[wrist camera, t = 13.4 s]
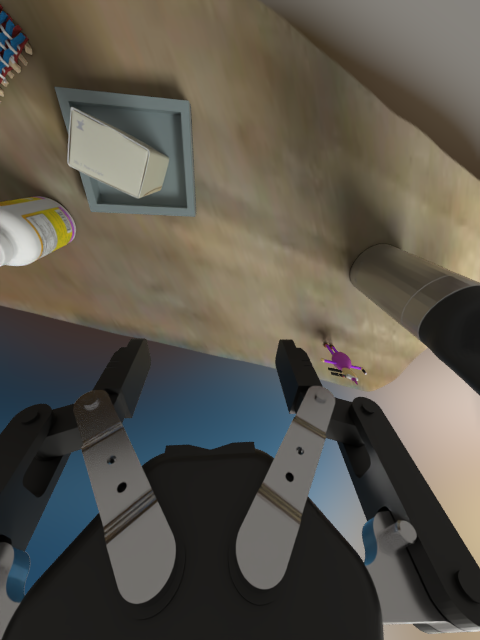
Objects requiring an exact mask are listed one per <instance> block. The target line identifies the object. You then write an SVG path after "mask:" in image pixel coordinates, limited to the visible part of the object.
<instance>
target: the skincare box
mask: <svg viewBox="0 0 480 640" xmlns="http://www.w3.org/2000/svg"><path fill="white" fill-rule="evenodd" d="M67 163H68V165H69V166H70V167H72V168H74V169H76V170H78V171H80V172H82V173H84V174H86V175H88V176H90V177H92V178H94V179H96V180H98V181H100V182H102V183H104V184H107V185H109V186H111V187H113V188H115V189H117V190H119V191H122V192H124V193H126V194H128V195H131V196H133V197H135V198H141V197H144V196H146V195H149V194H152V193H155V192H158V191H160V190H161V188H162V185H163V182H164V178H165V175H166V171H167V167H168V163H169V157H167V156H166V155H164V154H162V153H161V152H159V151H157V150H156V149H154V148H152V147H151V146H149V145H147V144H145V143H144V142H142V141H140V140H138V139H137V138H135V137H133V136H131V135H129V134H128V133H126V132H124V131H122V130H120V129H118V128H115V127H113V126H111V125H109V124H107V123H105V122H103V121H101V120H99V119H97V118H95V117H93V116H91V115H89V114H87V113H84V112H82V111H80V110H78V109H76V108H74V107H71V113H70V124H69V138H68V160H67Z"/></svg>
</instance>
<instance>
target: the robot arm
mask: <svg viewBox="0 0 480 640" xmlns="http://www.w3.org/2000/svg"><path fill="white" fill-rule="evenodd" d="M350 279H351V282H352V284H353V285H354V286H355V287H356V288H357V289H358V290H359V291H361V292H362V293H363V294H364V295H365V296H366V297H368V298H369V299H370V300H371V301H372V302H374V303H375V304H376V305H377V306H379V307H380V308H381V309H382V310H383V311H385V312H386V313H387V314H388V315H389V316H391V317H392V318H393V319H394V320H396V321H397V322H398V323H399V324H400V325H402V326H403V327H404V328H405V329H407V330H408V331H409V332H410V333H411V334H413V335H414V336H415V337H416V338H417V339H419V340H420V341H421V342H422V343H424V344H425V345H426V346H427V347H428V348H429V349H430V350H431V351H432V352H433V353H434V354H435V355H436V356H437V357H438V358H439V359H440V360H441V361H442V362H444V363H445V364H446V365H447V366H448V367H450V368H451V369H452V370H453V371H454V372H455V373H456V374H457V375H458V376H459V377H461V378H462V379H463V380H464V381H465V382H466V383H467V384H468V385H469V386H470V387H471V388H472V389H473V390H474V391H476V392H477V393H478V394H479V395H480V283H479V282H477V281H474V280H472V279H470V278H467V277H465V276H462V275H460V274H457V273H455V272H453V271H450V270H448V269H446V268H443V267H441V266H439V265H436V264H434V263H431V262H429V261H427V260H424V259H422V258H420V257H417V256H415V255H413V254H410V253H408V252H406V251H403V250H401V249H399V248H396V247H394V246H392V245H389V244H378V245H375V246H372V247H370V248H368V249H367V250H365V251H364V252H363V253H361V255H360V256H359V257H358V258H357V259H356V261H355V262H354V264H353V266H352V268H351V272H350ZM275 363H276V369H277V372H278V376H279V379H280V383H281V386H282V389H283V393H284V397H285V400H286V403H287V407H288V411H289V413H290V414H296V416H295V417H294V419H293V421H292V423H291V425H290V427H289V429H288V431H287V433H286V435H285V437H284V439H283V441H282V443H281V446H280V448H279V450H278V452H277V454H276V456H275V458H273V457H272V456H270V455H269V454H267V453H265V452H263V451H261V450H258V449H255V447H254V442H240V443H239V442H238V443H230V444H228V445H224V446H221V447H218V448H215V449H212V450H209V449H204V448H201V447H196V446H192V445H169V446H166V449H165V453H163V454H160V455H158V456H156V457H154V458H152V459H151V460H149V461H148V462H146V463H145V464H144V465H143V466H141V464H140V462H139V460H138V458H137V455H136V453H135V451H134V449H133V447H132V445H131V442H130V440H129V438H128V436H127V434H126V431H125V429H124V427H123V425H122V422H123V420H124V418H132V416H133V413H134V411H135V407H136V405H137V402H138V400H139V397H140V394H141V391H142V388H143V385H144V383H145V380H146V377H147V374H148V372H149V369H150V365H151V358H150V353H149V348H148V345H147V340H146V339H131V340H130V342H129V344H128V346H127V347H122V348H120V349H119V350H118V351H117V352H115V353H114V355H113V356H112V358H111V360H110V362H109V363H108V365H107V367H106V368H105V370H104V372H103V373H102V375H101V377H100V379H99V380H98V382H97V383H96V385H95V387H94V389H93V390H92V391H90V392H87V393H86V394H84V395H82V396H81V397H80V398H79V399H78V400H77V401H76V402H75V403H74V404H72V405H68V406H65V407H61V408H57V409H53V410H52V409H51V407H50V406H49V405H47V404H37V405H33V406H30V407H28V408H26V409H24V410H23V411H21V412H20V413H18V414H17V415H16V416H15V417H14V418H13V419H12V420H11V421H10V423H9V424H8V425H7V426H6V428H5V429H4V430H3V431H2V433H1V434H0V640H384V638H383V624H413V625H414V626H416V627H417V628H418V629H419V630H421V631H423V632H425V633H430V634H432V633H450V632H471V631H480V568H479V566H478V565H477V563H476V561H475V560H474V558H473V557H472V555H471V553H470V552H469V550H468V548H467V547H466V545H465V544H464V542H463V540H462V539H461V537H460V536H459V534H458V532H457V531H456V529H455V528H454V526H453V524H452V523H451V521H450V519H449V518H448V516H447V515H446V513H445V511H444V510H443V508H442V507H441V505H440V503H439V502H438V500H437V499H436V497H435V495H434V494H433V492H432V490H431V489H430V487H429V485H428V484H427V482H426V481H425V479H424V477H423V476H422V474H421V473H420V471H419V470H418V468H417V466H416V465H415V463H414V461H413V460H412V458H411V457H410V455H409V453H408V451H407V450H406V448H405V447H404V445H403V443H402V442H401V440H400V439H399V437H398V436H397V434H396V432H395V431H394V429H393V427H392V426H391V424H390V422H389V421H388V419H387V418H386V416H385V415H384V413H383V411H382V410H381V408H380V407H379V406H378V405H377V404H376V403H375V402H373V401H372V400H370V399H368V398H365V397H357V398H355V399H354V400H353V402H349V401H346V400H342V399H338V398H335V397H334V396H333V394H332V393H331V392H330V391H329V390H328V389H326V388H324V387H323V386H322V384H321V382H320V380H319V378H318V376H317V374H316V372H315V370H314V368H313V367H312V363H311V361H310V359H309V357H308V355H307V353H306V352H305V351H304V350H302V349H301V348H296V346H295V344H294V342H293V340H280V341H279V345H278V349H277V354H276V360H275ZM326 438H328V439H332V440H335V441H337V442H338V445H339V448H340V450H341V453H342V456H343V458H344V461H345V464H346V466H347V469H348V472H349V474H350V477H351V479H352V482H353V485H354V487H355V490H356V493H357V495H358V498H359V501H360V503H361V506H362V509H363V511H364V514H365V516H366V519H367V522H366V523H365V524H364V526H363V529H362V539H363V544H364V548H365V561H364V562H363V561H362V559H361V558H360V556H359V555H358V553H357V552H356V551H355V550H354V549H353V547H352V546H351V545H350V544H349V543H348V542H347V541H346V539H345V538H344V537H343V536H342V535H341V534H340V533H339V531H338V530H337V529H336V528H335V527H334V526H333V524H332V523H331V522H330V521H329V520H328V519H327V518H326V517H325V515H324V514H323V513H322V512H321V511H320V510H319V508H318V507H317V506H316V505H315V504H314V503H313V502H312V500H311V499H310V498H309V497H308V494H309V490H310V487H311V484H312V481H313V477H314V474H315V471H316V468H317V465H318V461H319V458H320V455H321V451H322V449H323V445H324V442H325V439H326ZM80 449H82V453H83V456H84V460H85V464H86V467H87V470H88V474H89V478H90V481H91V484H92V488H93V492H94V495H95V499H96V503H97V506H98V509H99V513H98V514H97V516H96V517H95V518H94V519H93V520H92V521H91V522H90V523H89V524H88V525H87V526H86V528H85V529H84V530H83V531H82V532H81V533H80V534H79V535H78V536H77V538H75V540H74V541H73V542H72V543H71V544H70V545H69V546H68V547H67V548H66V549H65V551H64V552H63V553H62V554H61V555H60V556H59V557H58V558H57V559H56V561H55V562H54V563H53V564H52V565H51V566H50V567H49V568H48V569H47V570H46V571H45V572H44V574H43V575H42V576H41V577H40V578H39V579H38V580H37V581H36V582H35V584H34V585H33V586H32V587H31V588H30V590H29V591H28V593H27V594H26V595H24V586H25V581H26V579H27V575H28V572H29V568H30V558H29V555H28V554H27V553H26V552H25V549H26V547H27V545H28V543H29V541H30V539H31V537H32V535H33V532H34V530H35V528H36V526H37V524H38V522H39V520H40V517H41V516H42V513H43V511H44V509H45V507H46V505H47V503H48V501H49V498H50V496H51V494H52V492H53V490H54V488H55V486H56V484H57V482H58V480H59V477H60V475H61V473H62V471H63V469H64V467H65V465H66V463H67V460H68V458H69V456H70V454H71V452H74V451H76V450H80Z"/></svg>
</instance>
